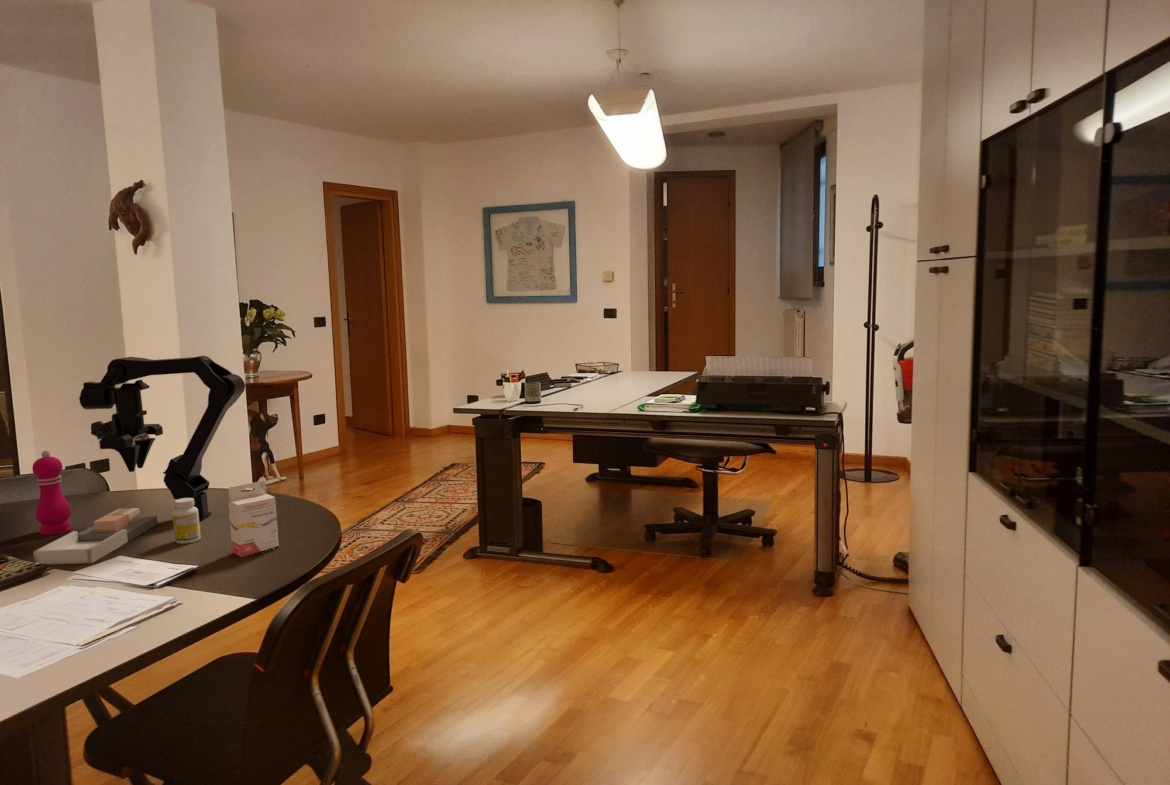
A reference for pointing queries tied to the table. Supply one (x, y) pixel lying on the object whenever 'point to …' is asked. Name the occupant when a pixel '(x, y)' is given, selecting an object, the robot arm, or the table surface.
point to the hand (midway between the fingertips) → (136, 469)
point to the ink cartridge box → (252, 519)
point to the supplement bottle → (186, 521)
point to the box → (78, 549)
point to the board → (132, 530)
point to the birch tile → (128, 514)
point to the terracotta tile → (110, 523)
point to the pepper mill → (51, 496)
